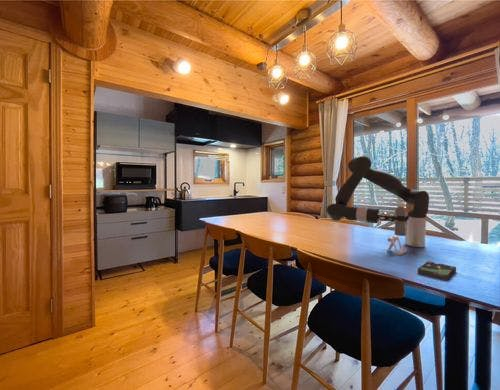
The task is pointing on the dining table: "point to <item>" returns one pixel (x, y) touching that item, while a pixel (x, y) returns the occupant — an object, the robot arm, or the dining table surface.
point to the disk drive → (437, 270)
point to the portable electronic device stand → (395, 245)
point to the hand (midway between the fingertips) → (407, 218)
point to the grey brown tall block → (400, 225)
